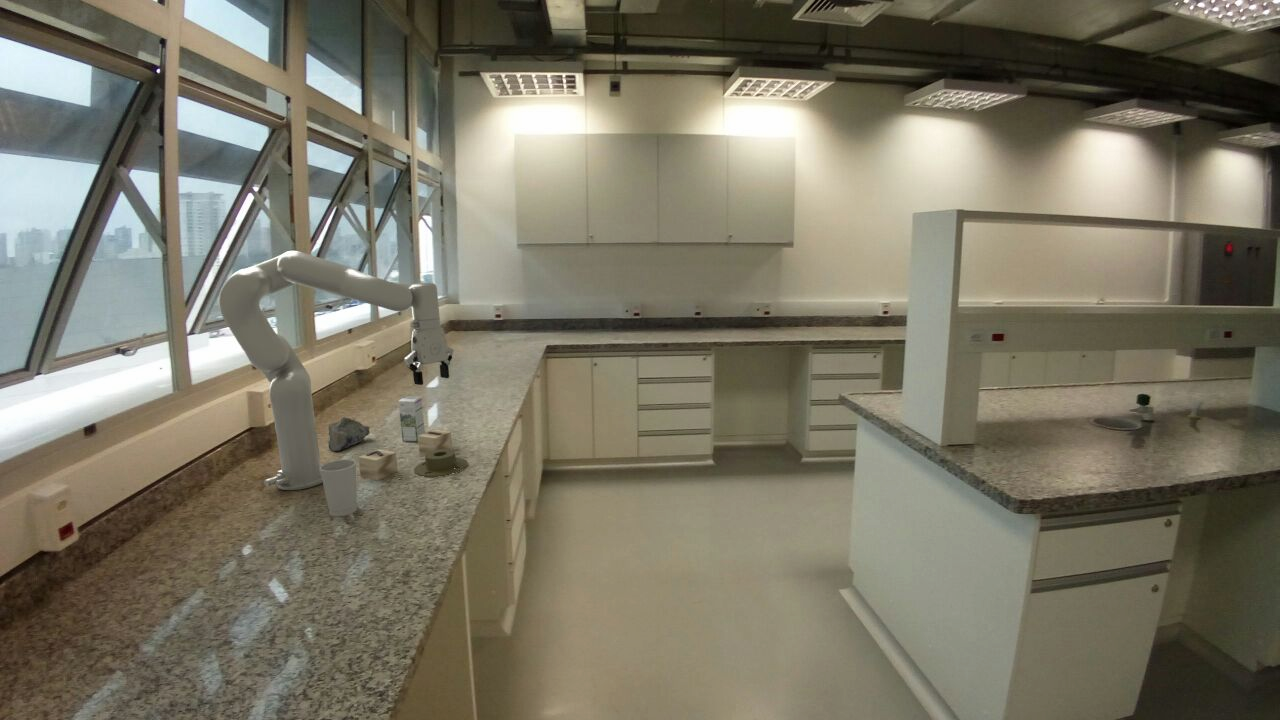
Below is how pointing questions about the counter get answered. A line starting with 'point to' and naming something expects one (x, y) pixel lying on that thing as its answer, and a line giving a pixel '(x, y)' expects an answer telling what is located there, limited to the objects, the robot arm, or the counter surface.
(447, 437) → the numeral block one
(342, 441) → the mineral rock
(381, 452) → the numeral block seven
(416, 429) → the syrup box
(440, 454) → the flange
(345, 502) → the cup
